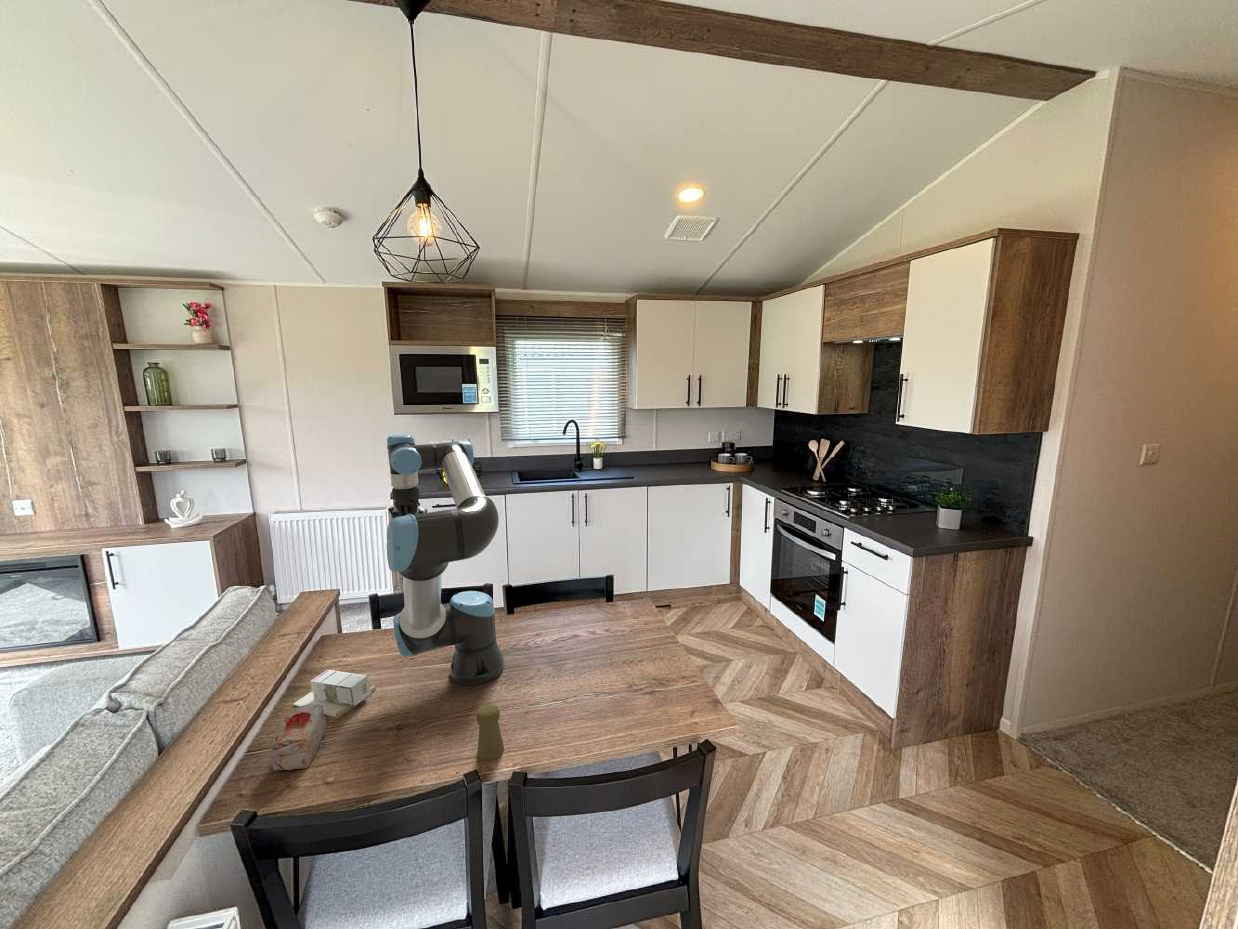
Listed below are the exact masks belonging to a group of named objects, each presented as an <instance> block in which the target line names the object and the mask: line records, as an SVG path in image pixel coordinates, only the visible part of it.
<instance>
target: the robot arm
mask: <svg viewBox="0 0 1238 929" xmlns="http://www.w3.org/2000/svg"><path fill="white" fill-rule="evenodd" d="M386 442H387V443H386V448H387V454H388V456H387V457H388V461H389V462H388V463H389V471H390V472H389V474H390V484H391V487H392V489H391V492H392V493H391V494H392V499H393V501H394V505H393V506H390V507H388V512H389V513H390V515H391V518H392V519H390V520H389V522H388V524H387V529H386V559H387V565H388V568H389V570H390V572H393V573H398V574H399V576H400V577H402V581H403V597H404V599H403V600H404V602H403V603H404V607H403V608H402V610H401V611H400V612H399V613H397V614H395V615H394V616H393V618H392V620H393V621H392V622H393V631H394V637H395V641H396V645H397V646H396V647H397V649H398V652H399V654H400V655H401V656H402V657H411V656H412V657H413V656H414V657H416V656H418V655H421V654H424V653H428V652H432V651H436V650H439V649H443V648H447V647H451V646H454V652H453V656H452V660H451V662H450V663H451V664H450V676H451V678H452V680H453V682H455V683H458V684H460V685H463V686H474V685H475V686H477V685H481V684H484V683H487V682H490V681H492V680H494V679H495V678H497V677H498V676H499V675H500V674H501V673H502V672H503V670H504V668H505V660H504V655H503V654H502V652H501V649H500V647H499V645H498V642H497V631H496V617H495V616H496V614H495V613H496V610H495V605H494V600H493V598H492V596H490V595H489V594H487V593H485V592H482V591H476V590H467V591H466V590H465V591H461V592H458V593H456V594H454V595H453V596H452V597H451V598H450V600H449V602H447V603H442V601H441V597H442V596H441V595H442V577H443V576H442V575H443V574H444V572H445V571H446V569H447V568H448V566H449V563H452V562H458V561H459V562H460V561H463V560H468V559H471V558H474V557H476V556H478V555H480V554H481V553H482V552H484V551H485V550H486V549H487V548H488V547H489V545H490V544H491V542H493V539H494V538H495V536H496V534H497V531H498V529H499V528H498V526H499V512H498V509H497V506H496V505H495V502H494V501H493V500H492V499H491V498H490V497H488V496H486V493H485V492H484V489H483V487H482V485H481V482H480V481H479V479H478V476H477V474H476V471H475V470H474V468H473V464H474V463H475V462H474V460H475V457H474V455H475V454H474V449H473V445H472V443H471V442H469V441H457V440H456V441H452V442H451V441H450V442H441V443H427V444H416V442H415V437H414V436H413V435H412V434H394V435H392V434H391V435H390V436H388V437H387V438H386ZM435 470H442V471H443V474H444V477H445V479H446V482H447V485H448V487H449V490H450V494H451V496H452V499H453V501H454V504H455V507H456V508H453V509H445V510H444V509H443V510H437V511H430V512H428V509H427V508H423V507H422V506H421V503H420V501H419V499H420V496H421V495H420V494H421V493H420V486H419V475H418V472H426V471H427V472H428V471H435Z"/></svg>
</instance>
